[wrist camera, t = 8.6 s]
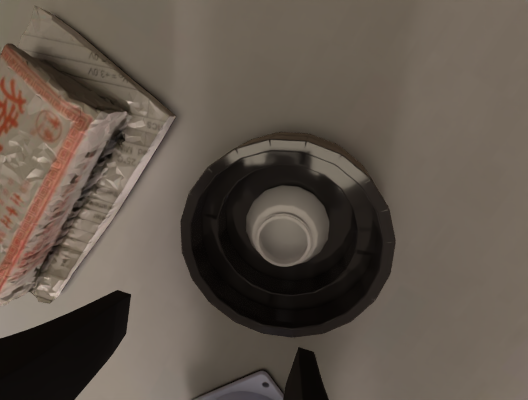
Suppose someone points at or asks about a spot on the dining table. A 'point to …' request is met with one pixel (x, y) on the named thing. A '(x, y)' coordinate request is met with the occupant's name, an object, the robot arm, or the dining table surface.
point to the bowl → (300, 275)
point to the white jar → (287, 225)
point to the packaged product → (65, 153)
